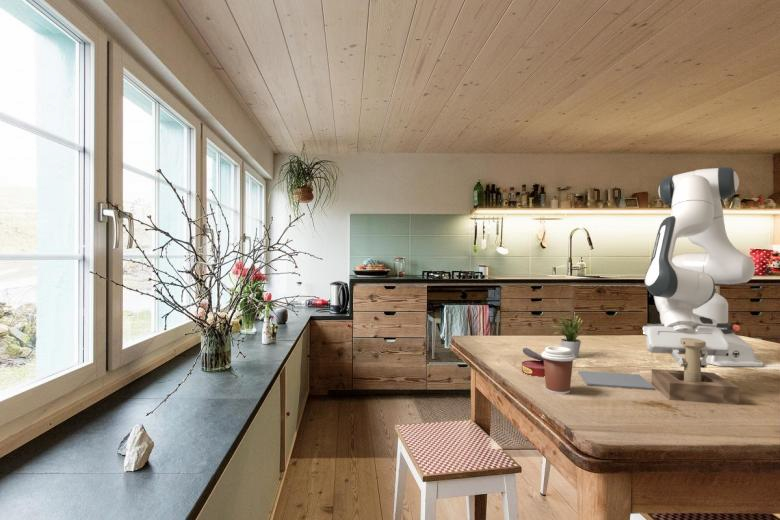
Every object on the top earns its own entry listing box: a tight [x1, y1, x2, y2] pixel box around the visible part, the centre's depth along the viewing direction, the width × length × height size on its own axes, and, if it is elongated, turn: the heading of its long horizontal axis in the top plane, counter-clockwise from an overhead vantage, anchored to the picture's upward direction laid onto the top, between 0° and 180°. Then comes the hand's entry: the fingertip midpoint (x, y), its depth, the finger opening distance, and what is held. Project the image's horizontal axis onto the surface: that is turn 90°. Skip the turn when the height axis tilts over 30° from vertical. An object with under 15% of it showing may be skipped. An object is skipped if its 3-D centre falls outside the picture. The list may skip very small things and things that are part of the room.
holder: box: [651, 368, 740, 405], centre depth 122 cm, size 16×14×4 cm
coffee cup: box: [540, 345, 576, 395], centre depth 124 cm, size 9×9×12 cm
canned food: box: [521, 347, 545, 378], centre depth 143 cm, size 11×10×10 cm
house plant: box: [550, 314, 589, 359], centre depth 166 cm, size 14×14×16 cm
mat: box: [578, 370, 656, 391], centre depth 134 cm, size 18×14×1 cm
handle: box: [680, 338, 706, 382], centre depth 121 cm, size 5×6×15 cm
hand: (693, 366), depth 121 cm, fingers closed on handle, 3 cm apart
